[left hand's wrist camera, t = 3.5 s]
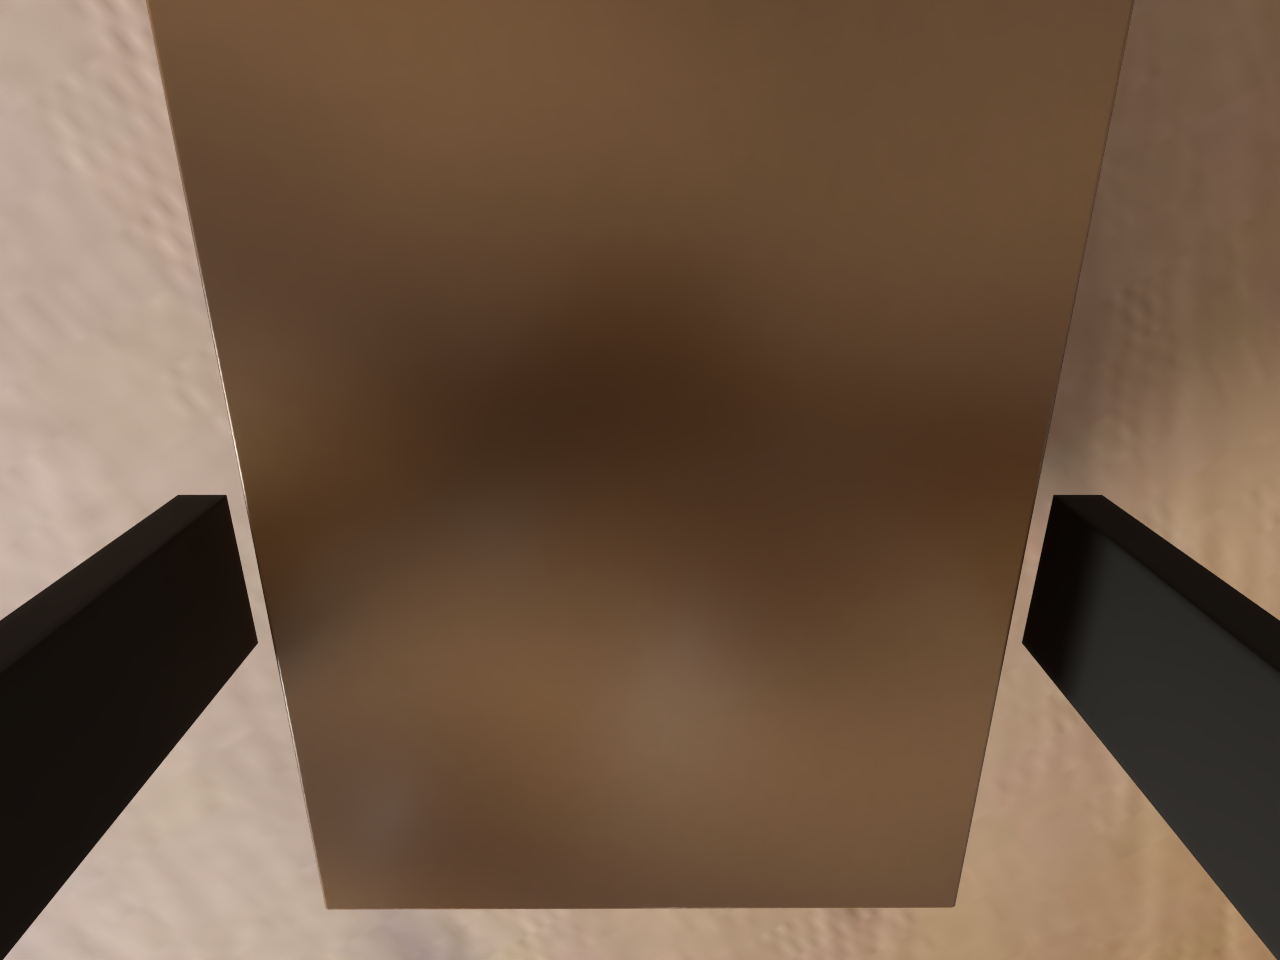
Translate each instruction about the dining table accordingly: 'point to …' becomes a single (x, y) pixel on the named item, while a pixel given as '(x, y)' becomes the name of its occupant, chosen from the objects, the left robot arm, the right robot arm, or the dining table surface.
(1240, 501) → the dining table surface
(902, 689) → the cabinet
